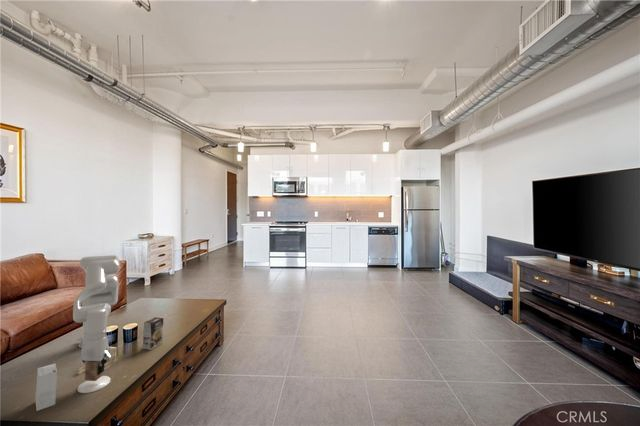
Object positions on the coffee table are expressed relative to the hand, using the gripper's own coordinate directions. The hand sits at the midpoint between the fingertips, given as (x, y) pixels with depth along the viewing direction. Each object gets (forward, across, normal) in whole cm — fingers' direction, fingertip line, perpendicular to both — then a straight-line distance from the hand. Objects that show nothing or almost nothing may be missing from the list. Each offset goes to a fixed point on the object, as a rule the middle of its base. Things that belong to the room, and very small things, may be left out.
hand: (94, 372), depth 128 cm
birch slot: (+6, -10, +13) cm, 17 cm away
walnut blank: (+2, 0, 0) cm, 2 cm away
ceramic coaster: (+6, 0, 0) cm, 6 cm away
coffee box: (+6, +4, +38) cm, 39 cm away
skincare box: (+6, -10, -13) cm, 18 cm away
